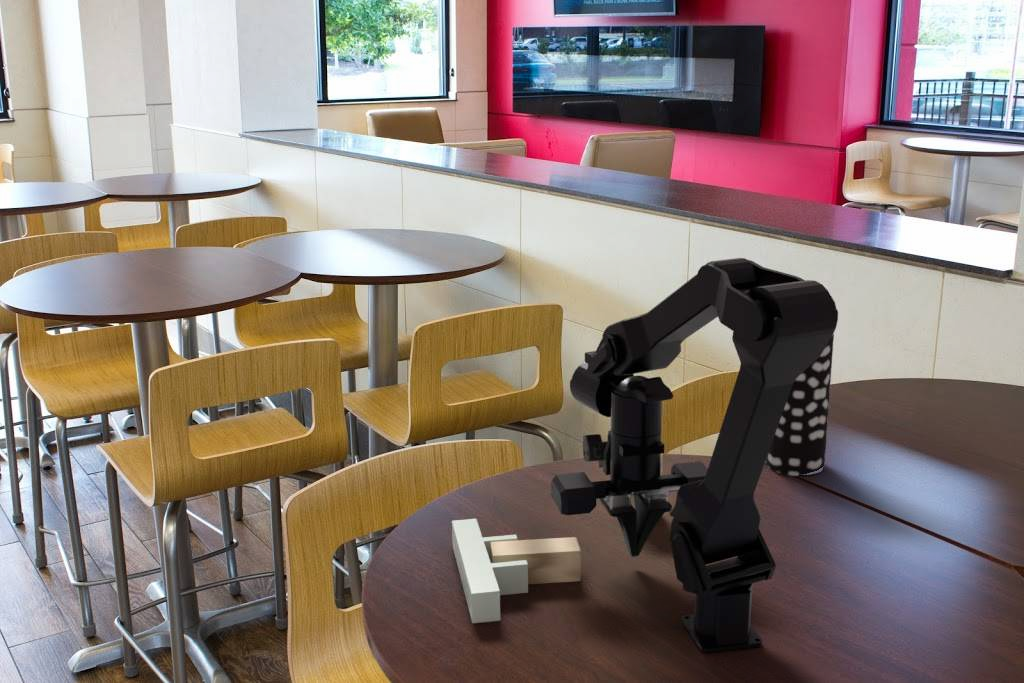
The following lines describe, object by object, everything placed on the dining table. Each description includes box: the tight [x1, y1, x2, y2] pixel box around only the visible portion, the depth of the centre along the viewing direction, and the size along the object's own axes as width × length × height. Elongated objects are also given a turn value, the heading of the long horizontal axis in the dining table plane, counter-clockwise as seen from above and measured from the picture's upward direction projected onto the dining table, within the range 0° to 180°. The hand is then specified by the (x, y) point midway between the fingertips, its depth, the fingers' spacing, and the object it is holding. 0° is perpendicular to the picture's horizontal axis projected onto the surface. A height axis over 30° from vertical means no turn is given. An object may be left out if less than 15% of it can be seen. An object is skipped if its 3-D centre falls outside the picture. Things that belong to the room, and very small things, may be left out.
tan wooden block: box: [490, 536, 582, 585], centre depth 117 cm, size 10×4×4 cm, turn 96°
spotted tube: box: [765, 332, 835, 477], centre depth 146 cm, size 8×8×20 cm
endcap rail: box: [451, 518, 529, 624], centre depth 117 cm, size 18×7×4 cm, turn 10°
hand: (633, 555), depth 119 cm, fingers closed
